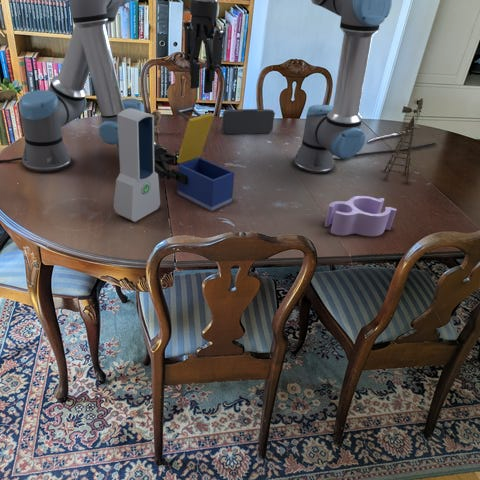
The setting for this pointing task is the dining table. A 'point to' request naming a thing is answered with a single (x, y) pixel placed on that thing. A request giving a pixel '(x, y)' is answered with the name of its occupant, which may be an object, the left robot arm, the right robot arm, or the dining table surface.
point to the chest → (206, 183)
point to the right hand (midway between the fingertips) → (201, 89)
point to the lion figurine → (156, 117)
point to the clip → (359, 216)
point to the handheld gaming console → (247, 121)
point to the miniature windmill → (411, 127)
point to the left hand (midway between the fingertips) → (198, 175)
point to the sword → (385, 136)
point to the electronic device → (136, 166)
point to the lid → (194, 134)
